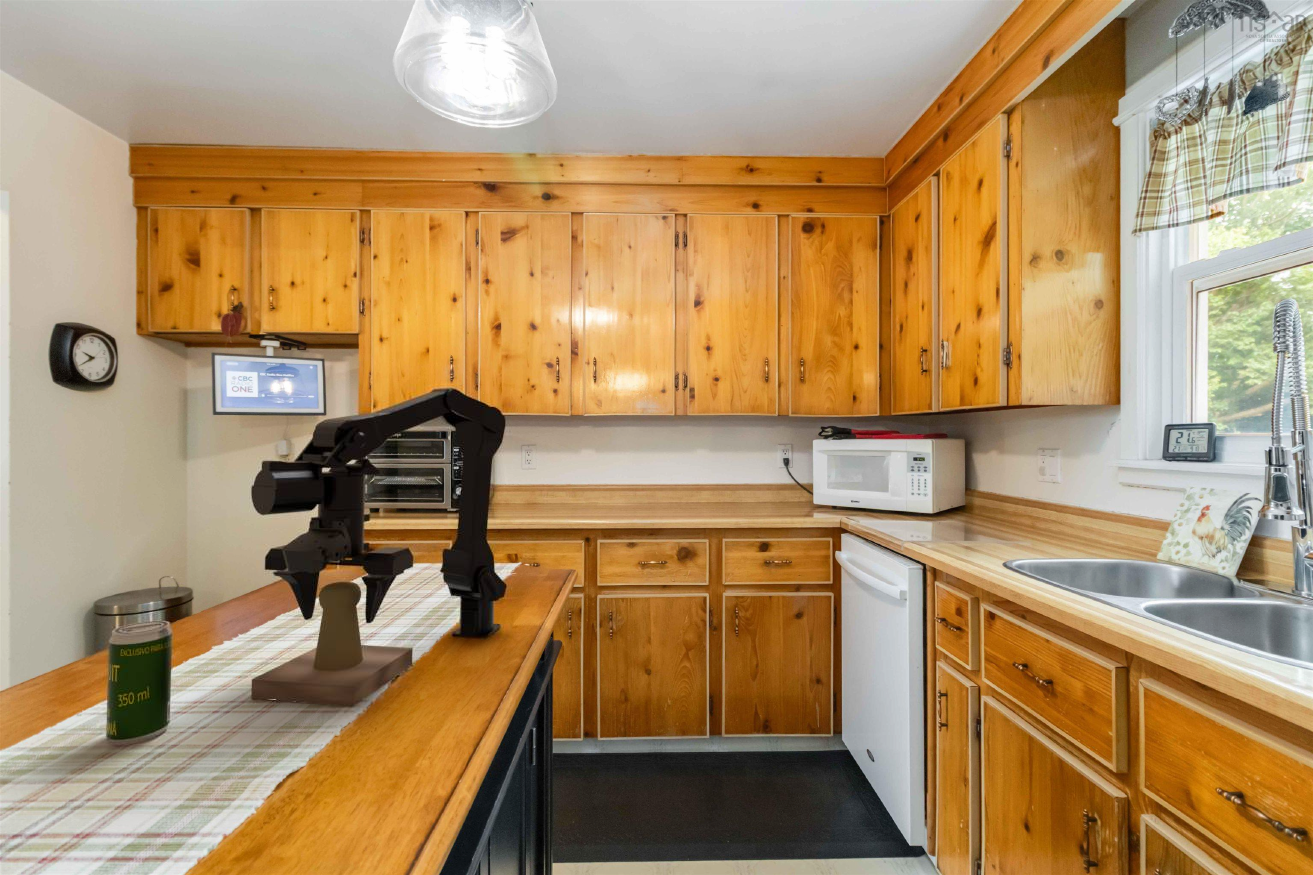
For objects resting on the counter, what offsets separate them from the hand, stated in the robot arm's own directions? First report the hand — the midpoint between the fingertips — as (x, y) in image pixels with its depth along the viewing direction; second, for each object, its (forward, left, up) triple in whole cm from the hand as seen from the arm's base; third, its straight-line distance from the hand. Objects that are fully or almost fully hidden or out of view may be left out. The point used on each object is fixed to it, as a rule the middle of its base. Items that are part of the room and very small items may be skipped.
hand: (338, 620), depth 81 cm
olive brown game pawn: (0, 0, -6) cm, 6 cm away
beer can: (+17, -12, -8) cm, 22 cm away
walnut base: (0, 0, -8) cm, 8 cm away
